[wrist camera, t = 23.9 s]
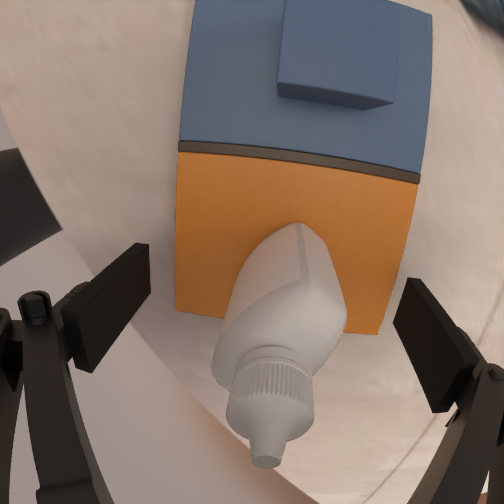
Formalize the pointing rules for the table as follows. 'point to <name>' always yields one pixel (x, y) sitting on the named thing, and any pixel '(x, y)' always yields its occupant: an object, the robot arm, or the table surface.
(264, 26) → the sorting board
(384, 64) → the blue block
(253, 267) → the eye dropper bottle
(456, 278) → the table surface
